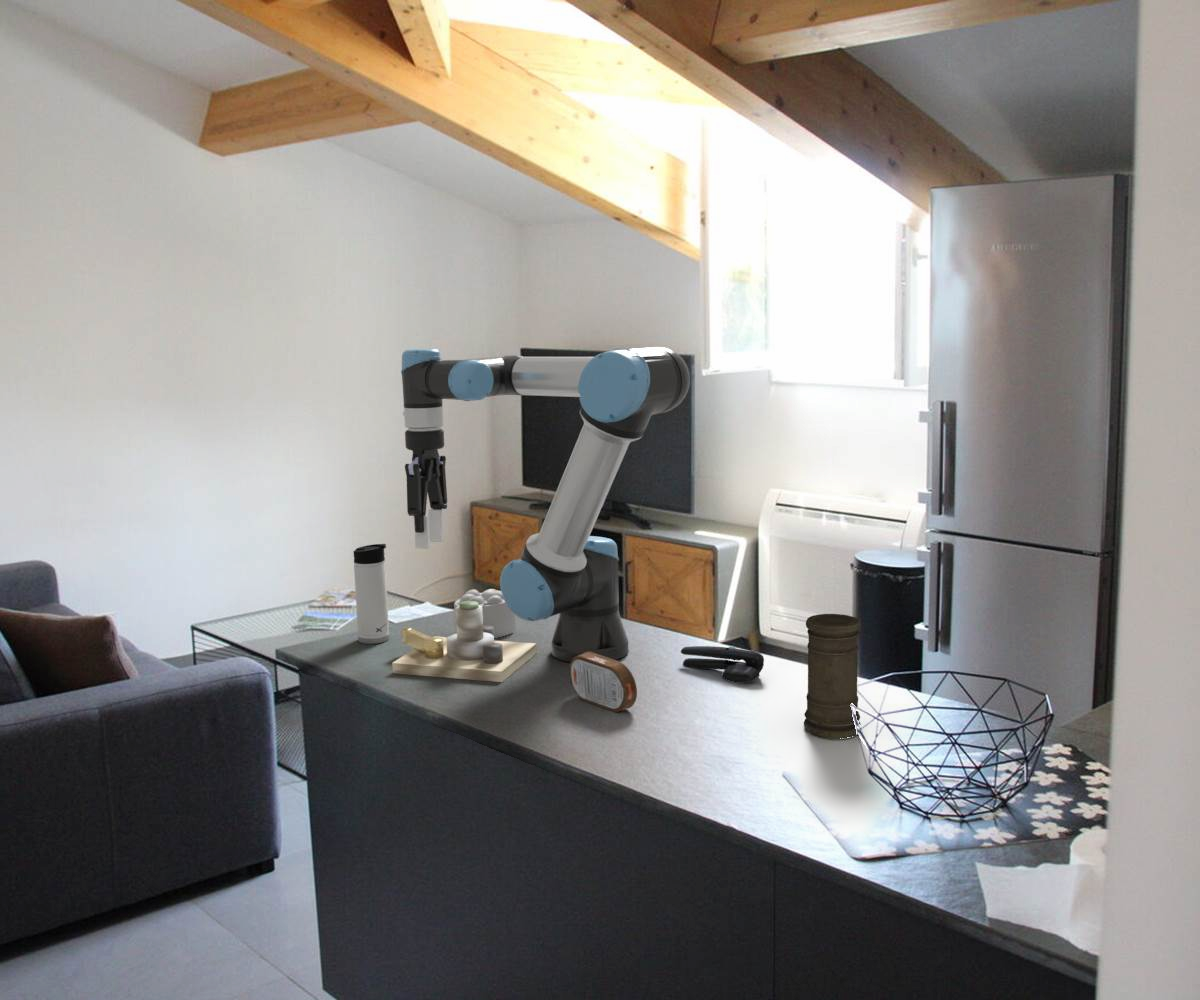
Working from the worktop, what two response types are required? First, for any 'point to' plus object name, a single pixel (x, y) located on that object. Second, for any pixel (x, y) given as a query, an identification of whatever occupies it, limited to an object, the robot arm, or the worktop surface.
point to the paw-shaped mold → (491, 611)
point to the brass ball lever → (423, 642)
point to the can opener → (726, 662)
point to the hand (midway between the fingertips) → (429, 544)
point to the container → (832, 675)
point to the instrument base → (466, 667)
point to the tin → (603, 681)
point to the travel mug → (371, 594)
